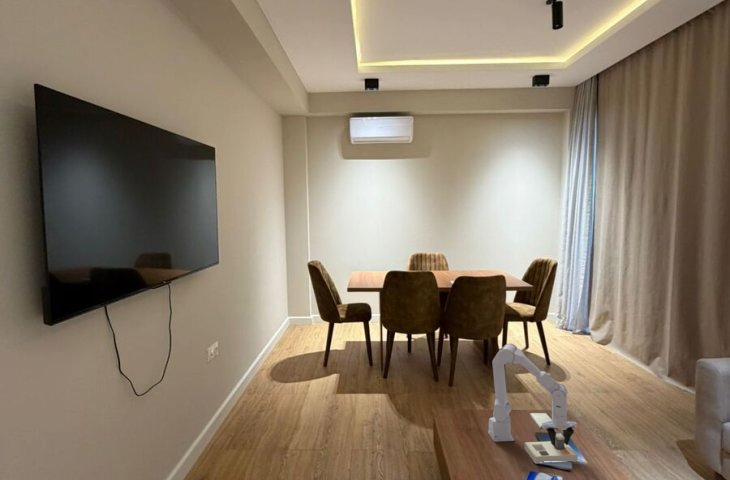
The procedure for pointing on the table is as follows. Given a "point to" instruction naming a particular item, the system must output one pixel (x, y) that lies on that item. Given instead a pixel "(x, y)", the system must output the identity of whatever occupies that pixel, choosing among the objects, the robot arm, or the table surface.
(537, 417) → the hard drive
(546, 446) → the socket block
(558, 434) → the plug
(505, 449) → the table surface
